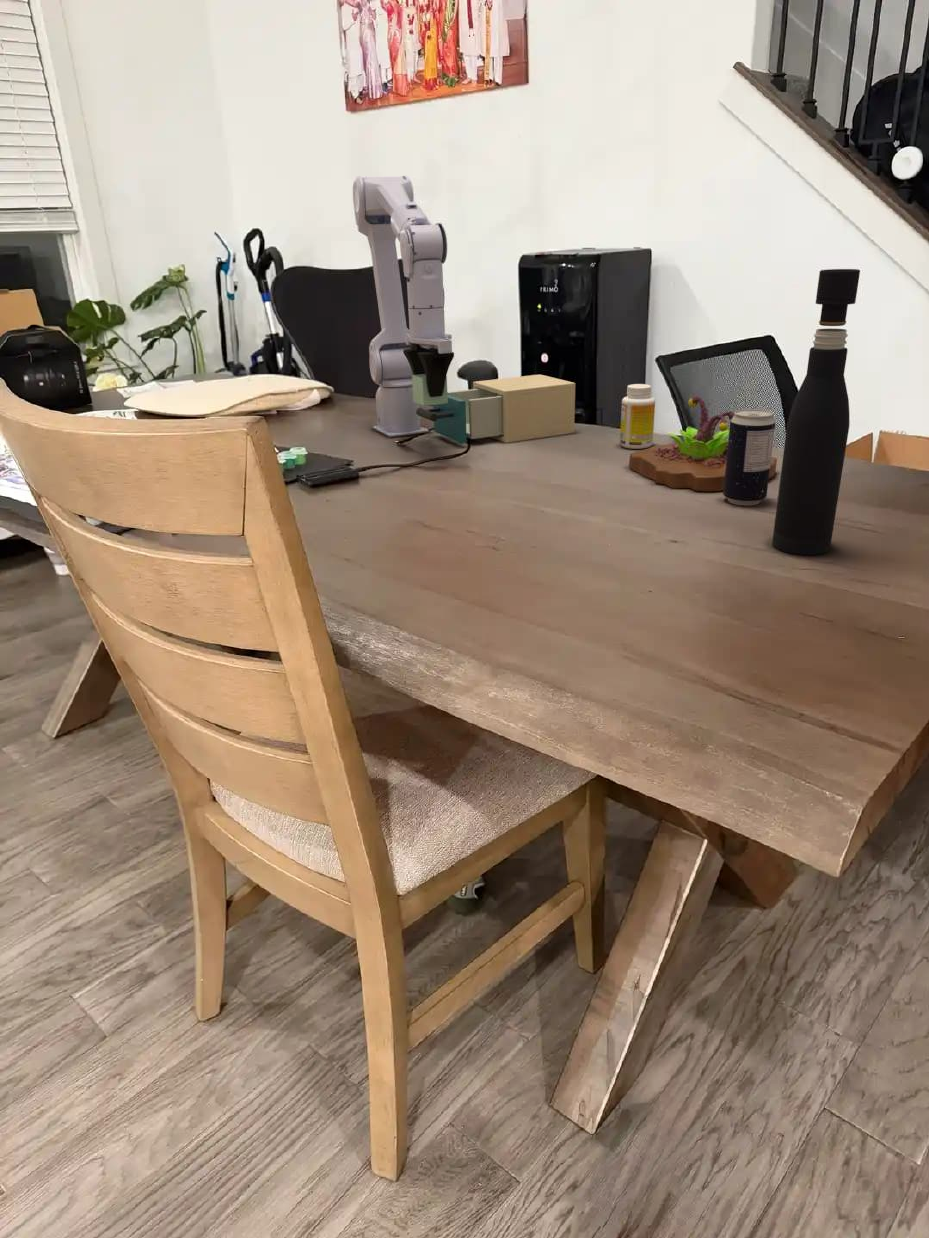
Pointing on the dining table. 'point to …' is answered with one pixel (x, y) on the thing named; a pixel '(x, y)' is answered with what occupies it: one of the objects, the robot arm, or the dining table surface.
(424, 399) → the sage green cube
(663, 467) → the plant
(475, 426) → the drawer
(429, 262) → the robot arm
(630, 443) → the supplement bottle
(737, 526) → the dining table surface
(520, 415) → the beige box
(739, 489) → the beverage can
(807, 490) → the black water bottle
